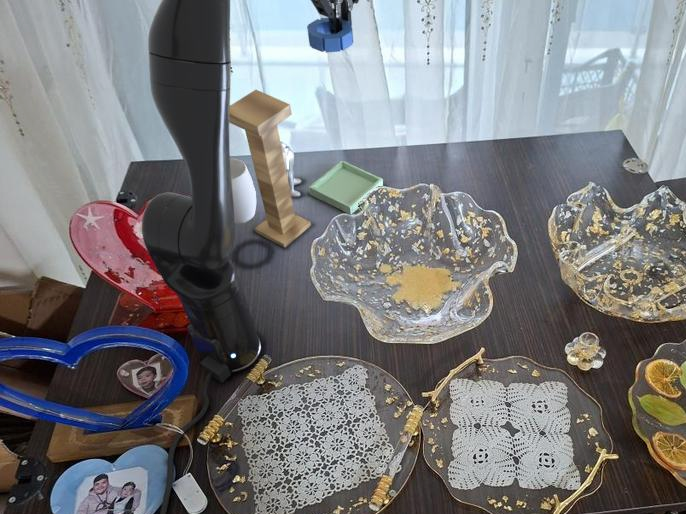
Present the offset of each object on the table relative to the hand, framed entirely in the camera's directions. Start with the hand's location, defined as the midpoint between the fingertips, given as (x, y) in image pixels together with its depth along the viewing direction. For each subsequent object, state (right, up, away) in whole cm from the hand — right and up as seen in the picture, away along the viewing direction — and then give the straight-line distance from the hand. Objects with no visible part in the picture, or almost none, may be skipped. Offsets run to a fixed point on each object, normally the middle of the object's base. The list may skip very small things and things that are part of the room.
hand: (341, 33), depth 109 cm
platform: (-14, -32, +17) cm, 39 cm away
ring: (-2, -2, -1) cm, 3 cm away
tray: (-2, -23, +25) cm, 34 cm away
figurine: (-14, -22, +25) cm, 36 cm away
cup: (-19, -38, +12) cm, 45 cm away
